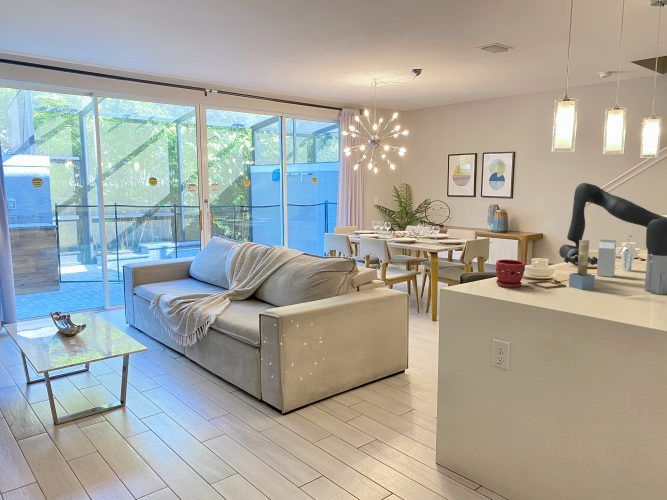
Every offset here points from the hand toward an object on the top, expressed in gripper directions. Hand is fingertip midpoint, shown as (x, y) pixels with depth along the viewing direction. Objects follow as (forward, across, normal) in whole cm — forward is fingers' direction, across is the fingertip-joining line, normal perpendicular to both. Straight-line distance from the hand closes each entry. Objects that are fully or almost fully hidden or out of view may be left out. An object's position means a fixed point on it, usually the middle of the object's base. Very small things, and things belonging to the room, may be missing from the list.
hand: (583, 262), depth 226 cm
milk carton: (-41, +19, +13) cm, 47 cm away
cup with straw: (-60, +34, +13) cm, 70 cm away
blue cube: (-2, 0, +13) cm, 13 cm away
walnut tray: (-4, -15, +13) cm, 20 cm away
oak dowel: (-2, 0, +12) cm, 12 cm away
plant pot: (-2, -32, +13) cm, 34 cm away
